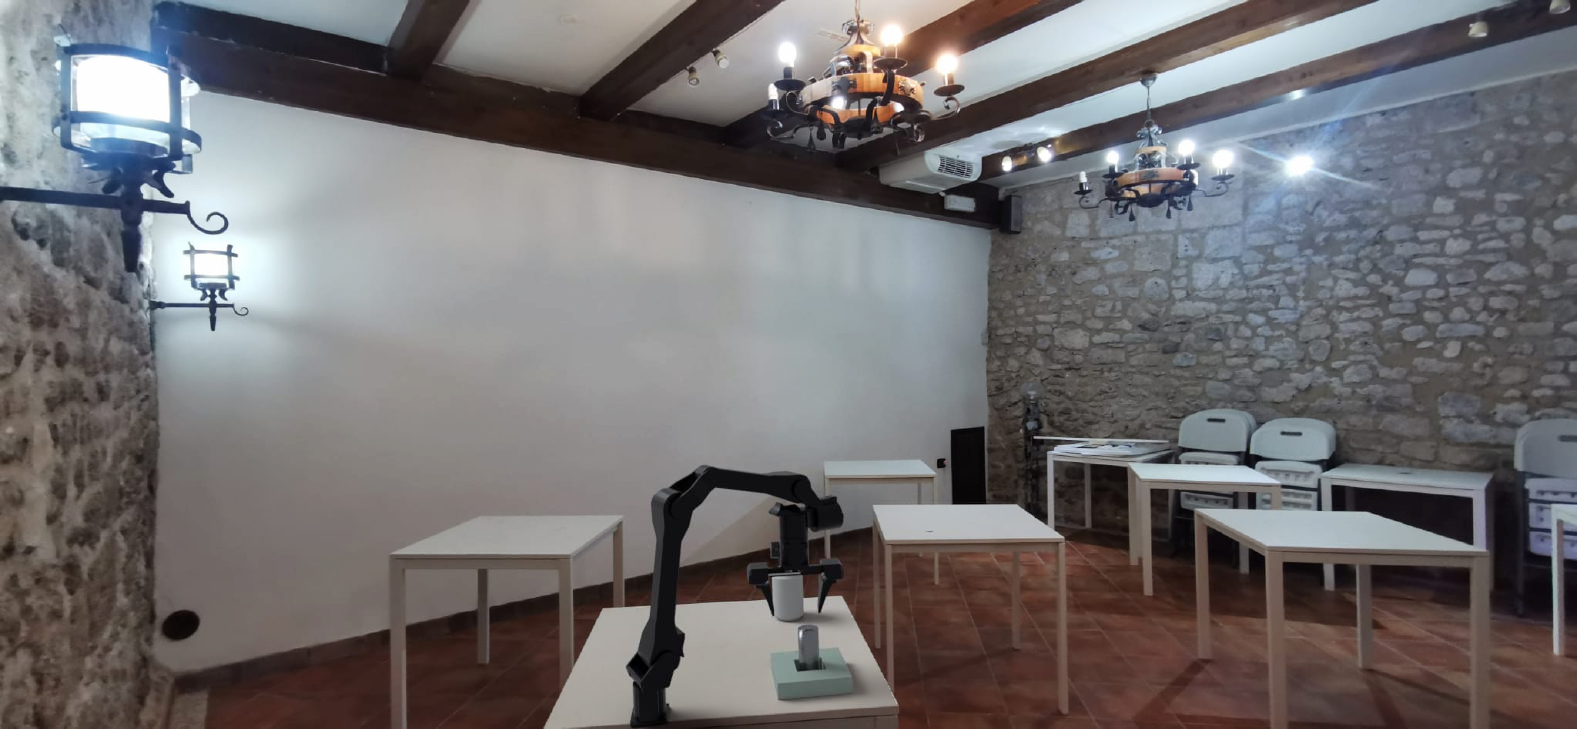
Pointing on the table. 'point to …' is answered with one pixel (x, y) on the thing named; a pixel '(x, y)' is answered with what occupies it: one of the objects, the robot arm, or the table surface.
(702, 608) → the table surface
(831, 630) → the table surface
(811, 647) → the peg
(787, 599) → the can
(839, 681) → the socket block
